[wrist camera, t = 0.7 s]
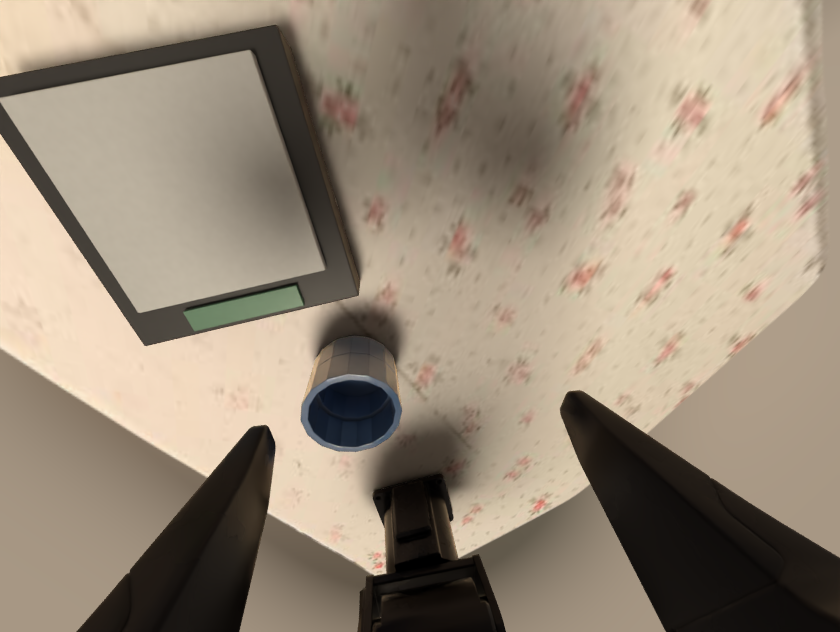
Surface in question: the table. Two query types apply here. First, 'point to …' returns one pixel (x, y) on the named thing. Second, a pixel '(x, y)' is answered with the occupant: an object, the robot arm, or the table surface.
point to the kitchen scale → (187, 180)
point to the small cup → (352, 395)
